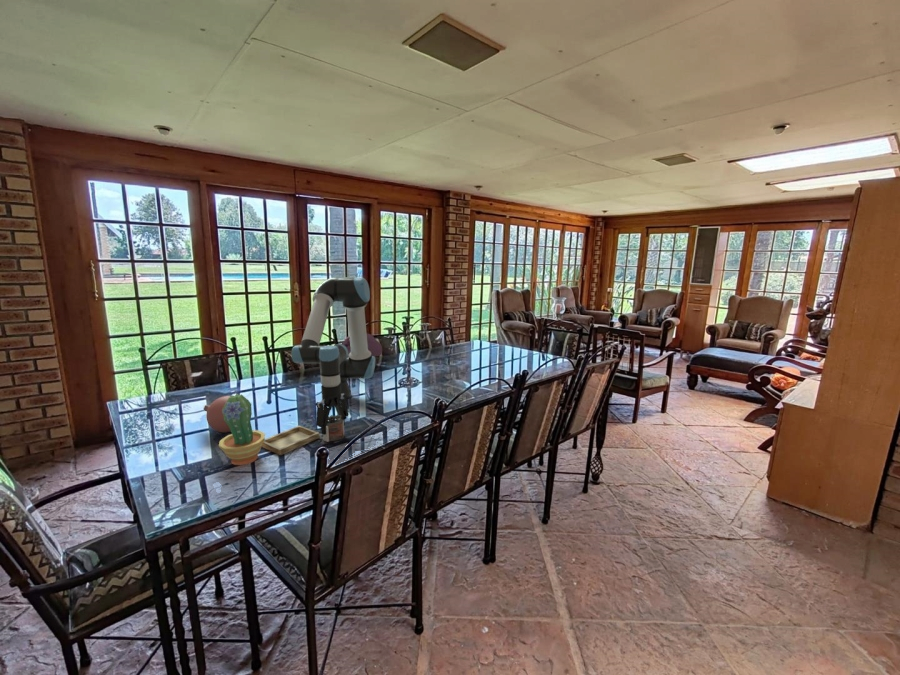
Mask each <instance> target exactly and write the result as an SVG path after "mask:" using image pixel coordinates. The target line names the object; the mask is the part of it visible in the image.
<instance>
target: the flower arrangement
mask: <svg viewBox="0 0 900 675" xmlns="http://www.w3.org/2000/svg"><path fill="white" fill-rule="evenodd" d="M366 333H367V345H368V350H369V351H370V352H371V356H374V357H379V356H381V355H382V354H383V347H382V344H381V343H380V342H379V341H378V340H377V339H376V338H375V337H374V335H372V334H370V333H368V332H366ZM341 344H342V345H344V346H345V347H346V348H347V350H348V356H349V353H350V352H351V346H350V337H349V336H347V337H345V338H344V340H343V341H342V342H341Z"/></svg>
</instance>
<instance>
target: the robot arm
mask: <svg viewBox="0 0 900 675" xmlns="http://www.w3.org/2000/svg"><path fill="white" fill-rule="evenodd" d="M370 291H371V290H370V285H369V283H368V281H367V280H366V278H364V277H357V276H354V277H353V276H351V277H350V276H348V277H347V276H346V277H339V276H333V277H330V278H327V279H325V280H324V281H323V282H321V283H320V285H319V286H318V287H317V288H316V290H315V291H314V293H313V296H312V302H313V304H312V306H311V309H310V310H311V311H310V313H309V317H308V319H307V322H306V326H305V329H304V332H303V335H302V339H301V342H300V344H298V345H294V346H293V347H292V349H291V355H290V356H291V359H292V361H293V362H294V363H296V364H303V365H304V364H319V369H320V370H319V371H320V372H319V374H320V384H321V399H322V400H321V401H316V404H315V405H316V423H315V424H316V427H319V428H320V429H321V430H320V433H321V435H322V440H323V441H324V442H328V443H329V442H330V441H329V431H328V426H327V421H329V420H328V417H330V413H331V410H332V408H333V407H334V408H335V412H336V413H337V415H341V418H340V419H342V420H343V434H344V435H345V425H346V420H347V417H349V409H348V402H347V399H350V398H351V397H352V391H351V388H350V385H349V383H348V379H363V380H365V379H370V378H373V375H374V373H375V369H376V368H375V367H376V356H371V352H370V351H369V350H368V345H367V333H368V332H367V326H366V325H367V324H366V323H367V322H366V314H365V313H366V312H365V311H366V310H365V308H366V307H367V305H368V302H369V301H370V299H371V292H370ZM336 302H341V303H342V306H343V308H344V309H346V316H347V317H346V318H347V325H348V326H347V327H348V334H349V336H348V337H350V346H351V352H350V353H349V356H348V350H347V348H346V347H345V346H344V345H342V343H337V344H332V345H320V343H321V340H322V338H323V334H324V330H325V325H326V322H327V319H328V315H329V312H330V308H331V307H332V306H333V305H334V303H336Z"/></svg>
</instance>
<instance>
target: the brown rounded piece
mask: <svg viewBox="0 0 900 675" xmlns="http://www.w3.org/2000/svg"><path fill="white" fill-rule="evenodd" d="M230 396H231V395H224V396H220V397H218V398H217V399H214V401H212V402H211V403H210V404H204V407H203V411H204V412H206V422H207V424H208V426H209V427H210V428H211V429H213V430H214V431H215V432H219V433H231V430H230V428H229V426H228V425H227V423H226V422H225V420H224V416H223V413H222V412H223V411H222V409H223V407H224V405H225V404H226V402H227V400H228V398H229V397H230Z"/></svg>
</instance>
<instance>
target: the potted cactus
mask: <svg viewBox="0 0 900 675" xmlns="http://www.w3.org/2000/svg"><path fill="white" fill-rule="evenodd" d="M229 396H230V397H229V398H228V400H227V402H226V404H225V405H224V407H223V409H222V411H223V412H222V413H223V416H224V420H225V422H226V423H227V425H228V426H229V428H230V430H231V432H230V433H231V434H228V435H226V436H225V437H223V438H222V439H220V440H219V442H218V443H219V444H218V447H219V449H220V450H222V451H223V453H224V454H225V456H226V457H227V458H229V460H231V461H230V463H231V464H233V466H243V465H249V464H251V463H253V462H255V461H256V460H257V459H258V457H259V455H258V454H259V453H260V451H261V448H262V447H261V446H262V443H263V442H264V440H265V439H266V433H265V432H263V431H261V430H253V428H252V423H251V419H252V403H251V401H250V400H249V399H248V398H246V396H244V395H243V393H242V394H238V393H236V394H235V395H233V394H231V395H229Z"/></svg>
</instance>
